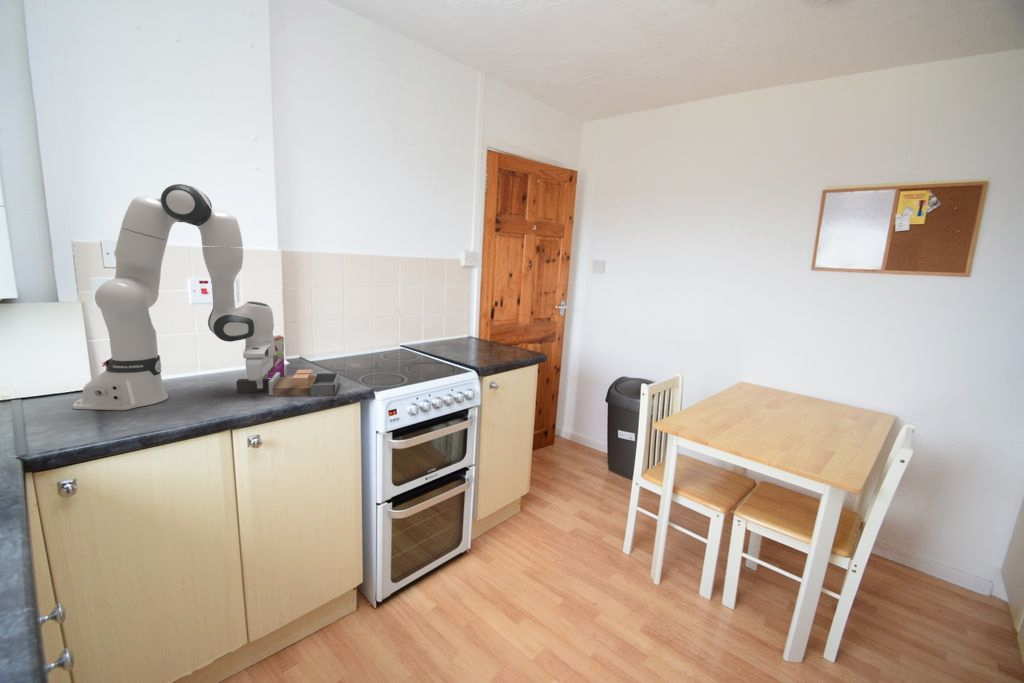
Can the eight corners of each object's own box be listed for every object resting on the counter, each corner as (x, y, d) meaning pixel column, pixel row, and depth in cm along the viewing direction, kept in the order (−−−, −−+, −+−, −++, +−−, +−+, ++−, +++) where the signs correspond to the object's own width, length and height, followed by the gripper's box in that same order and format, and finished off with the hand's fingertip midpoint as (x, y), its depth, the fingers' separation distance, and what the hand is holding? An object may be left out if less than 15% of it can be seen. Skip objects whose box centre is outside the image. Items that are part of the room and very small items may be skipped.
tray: (310, 396, 155) (310, 385, 154) (317, 383, 170) (317, 373, 169) (335, 395, 157) (335, 384, 156) (339, 382, 172) (339, 372, 171)
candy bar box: (256, 381, 167) (253, 339, 164) (249, 379, 170) (247, 337, 167) (285, 376, 176) (284, 336, 173) (279, 374, 179) (277, 334, 176)
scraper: (232, 396, 150) (232, 382, 149) (243, 386, 161) (242, 372, 160) (272, 395, 153) (272, 381, 152) (280, 385, 164) (280, 372, 163)
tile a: (292, 386, 154) (292, 378, 154) (295, 382, 159) (294, 374, 159) (307, 386, 156) (307, 377, 155) (310, 382, 161) (309, 374, 160)
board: (272, 396, 152) (272, 388, 151) (282, 384, 166) (282, 376, 165) (310, 395, 155) (310, 387, 154) (317, 383, 169) (316, 376, 169)
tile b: (295, 381, 160) (295, 373, 160) (298, 377, 165) (298, 369, 165) (310, 381, 162) (310, 373, 161) (312, 377, 167) (312, 369, 166)
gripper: (258, 342, 163) (259, 378, 166) (241, 354, 144) (243, 395, 147) (277, 342, 165) (278, 378, 168) (263, 354, 146) (264, 394, 148)
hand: (262, 386), depth 157 cm, fingers closed on scraper, 3 cm apart
